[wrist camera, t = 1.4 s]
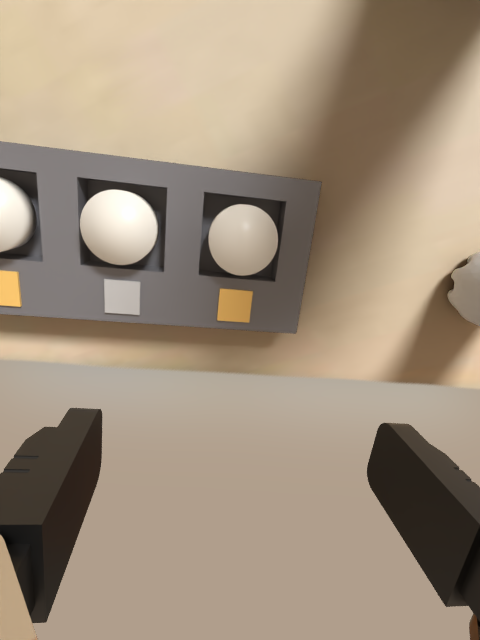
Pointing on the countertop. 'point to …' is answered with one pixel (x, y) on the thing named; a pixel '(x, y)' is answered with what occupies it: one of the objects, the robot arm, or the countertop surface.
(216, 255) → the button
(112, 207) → the button middle
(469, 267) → the bottle
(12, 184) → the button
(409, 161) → the countertop surface
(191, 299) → the panel
